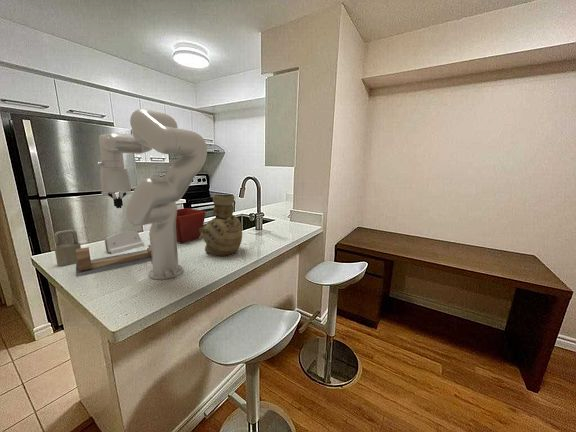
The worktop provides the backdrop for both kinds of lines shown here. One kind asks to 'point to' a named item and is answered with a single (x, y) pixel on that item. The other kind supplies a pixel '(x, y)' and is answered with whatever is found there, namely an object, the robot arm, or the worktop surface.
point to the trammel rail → (122, 258)
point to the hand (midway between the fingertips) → (118, 207)
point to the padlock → (66, 249)
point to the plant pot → (188, 224)
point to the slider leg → (83, 258)
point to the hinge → (123, 242)
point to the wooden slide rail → (112, 266)
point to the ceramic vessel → (222, 228)
